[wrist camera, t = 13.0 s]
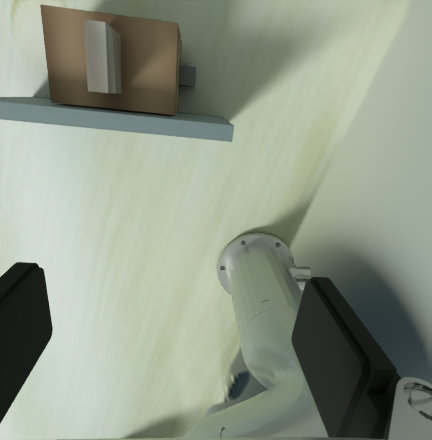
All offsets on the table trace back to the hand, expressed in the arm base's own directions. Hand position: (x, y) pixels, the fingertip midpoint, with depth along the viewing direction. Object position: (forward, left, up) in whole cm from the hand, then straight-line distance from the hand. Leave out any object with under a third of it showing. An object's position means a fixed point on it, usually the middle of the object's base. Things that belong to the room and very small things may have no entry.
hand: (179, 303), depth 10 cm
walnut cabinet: (+8, -9, -32) cm, 34 cm away
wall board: (+8, -4, -32) cm, 33 cm away
